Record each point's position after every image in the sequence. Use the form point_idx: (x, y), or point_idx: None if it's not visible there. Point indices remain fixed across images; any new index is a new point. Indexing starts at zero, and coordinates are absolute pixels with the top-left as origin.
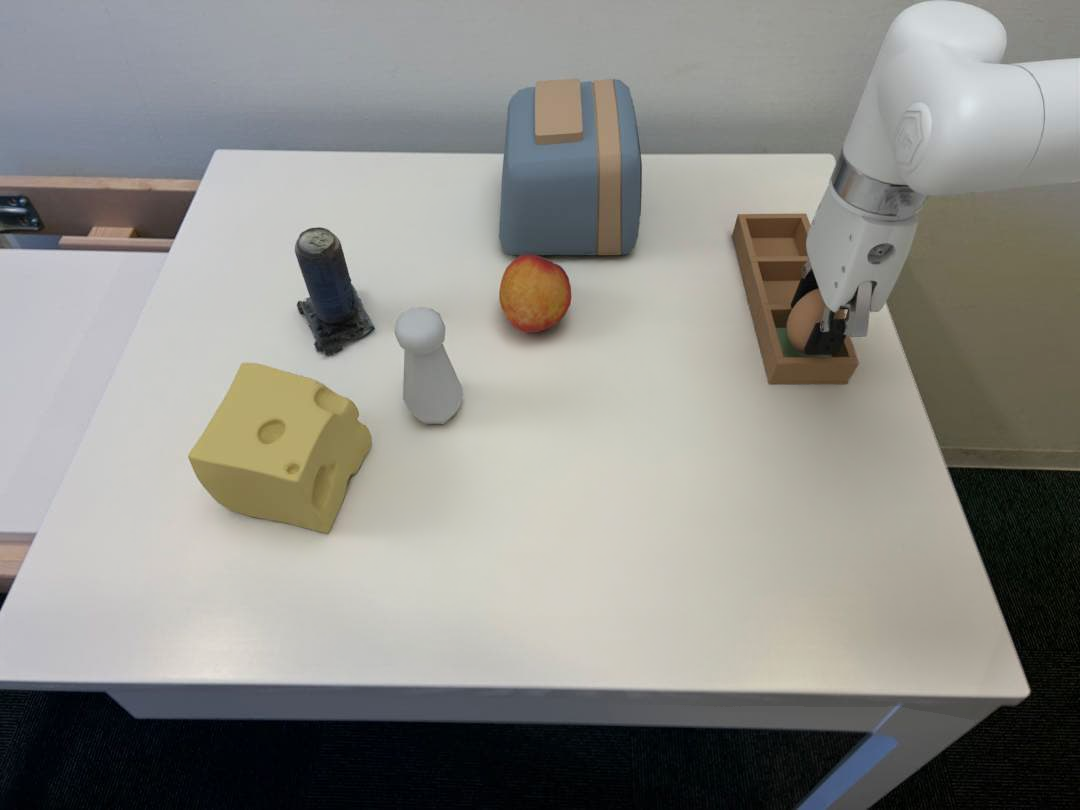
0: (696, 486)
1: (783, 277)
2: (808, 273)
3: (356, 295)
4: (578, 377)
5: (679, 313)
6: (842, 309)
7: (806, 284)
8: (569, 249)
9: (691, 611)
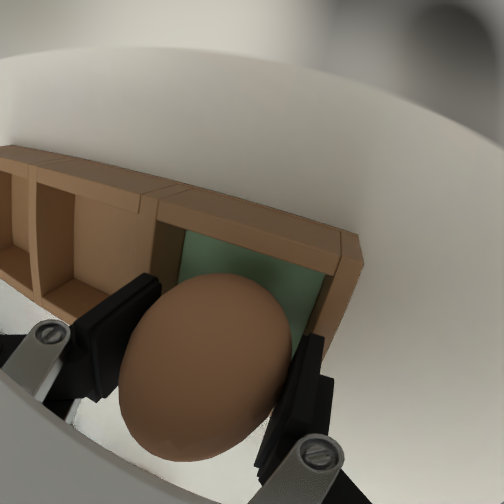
0: (400, 485)
1: (68, 226)
2: (73, 412)
3: None
4: (222, 498)
5: None
6: (215, 397)
7: (102, 395)
8: None
9: (482, 496)
